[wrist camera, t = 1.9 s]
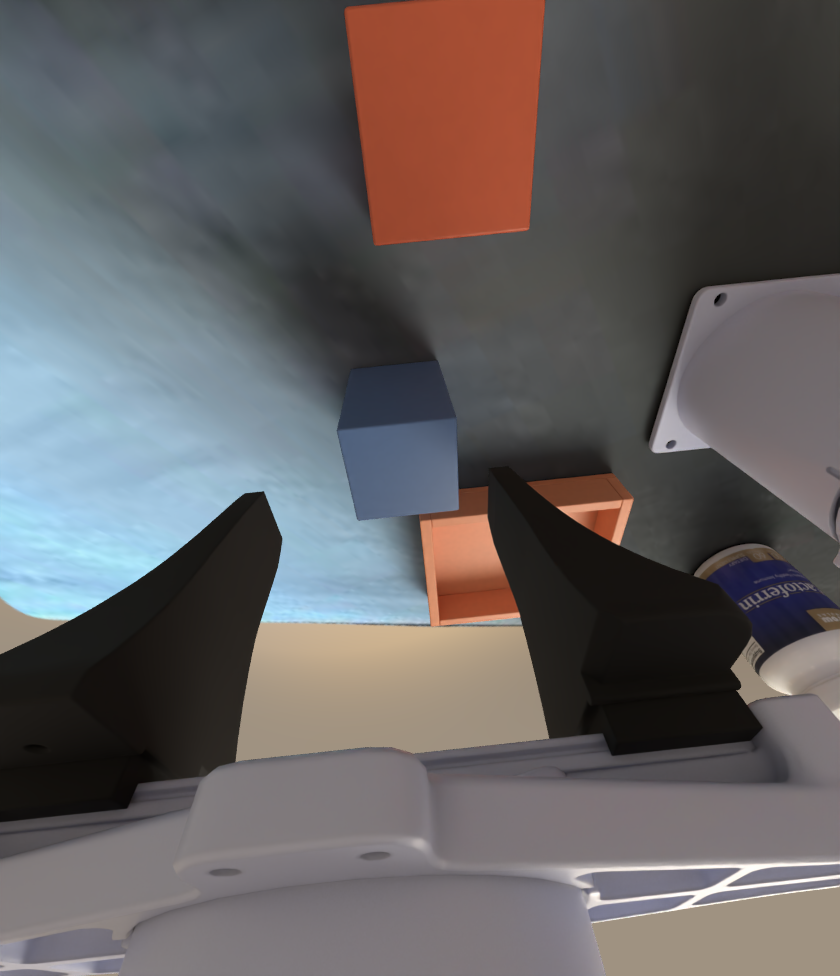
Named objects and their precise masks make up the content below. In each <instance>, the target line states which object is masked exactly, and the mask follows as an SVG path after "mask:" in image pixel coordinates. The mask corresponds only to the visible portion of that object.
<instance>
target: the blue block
mask: <svg viewBox="0 0 840 976" xmlns="http://www.w3.org/2000/svg"><path fill="white" fill-rule="evenodd" d="M337 434H338V438H339V442H340V447H341V451H342V455H343V460H344V464H345V468H346V473H347V477H348V481H349V486H350V490H351V494H352V499H353V503H354V507H355V512H356V516H357V519H358V520H369V519H379V518H388V517H398V516H407V515H417V514H426V513H436V512H445V511H455V510H459V487H458V451H457V418H456V415H455V412H454V409H453V406H452V403H451V400H450V396H449V393H448V390H447V387H446V384H445V381H444V378H443V375H442V372H441V369H440V366H439V363H438V361H437V360H436V361H426V362H416V363H406V364H397V365H387V366H377V367H367V368H358V369H351V371H350V376H349V380H348V384H347V389H346V393H345V397H344V402H343V406H342V410H341V415H340V419H339V423H338V428H337Z"/></svg>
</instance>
